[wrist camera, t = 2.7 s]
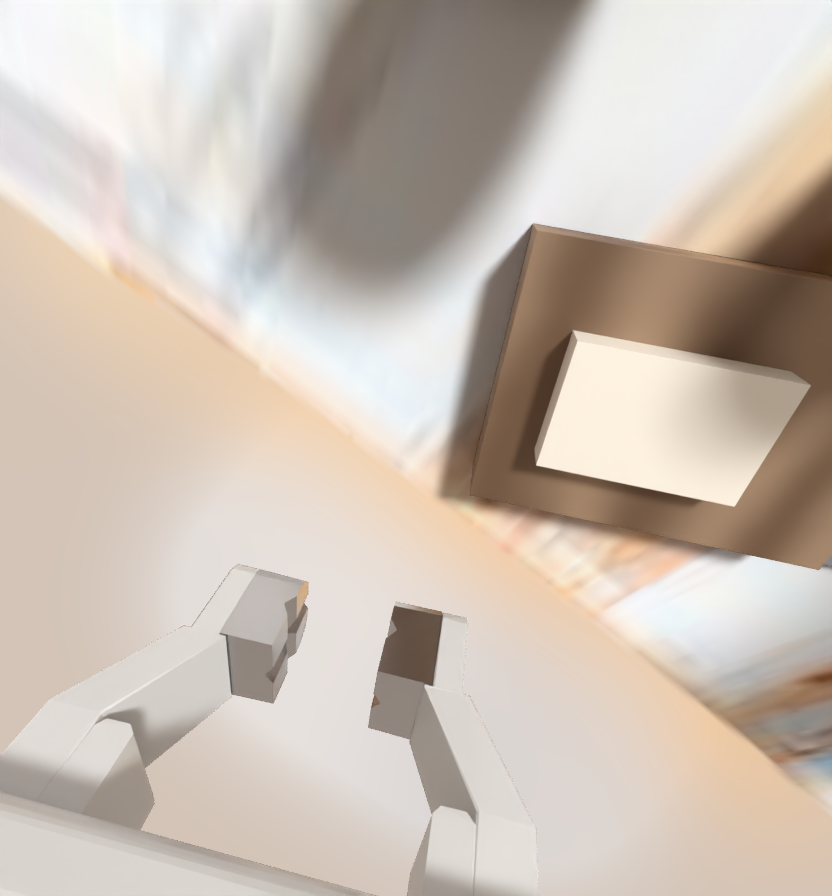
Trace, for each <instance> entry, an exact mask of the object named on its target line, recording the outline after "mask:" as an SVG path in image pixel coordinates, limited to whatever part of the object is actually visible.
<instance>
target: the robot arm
mask: <svg viewBox="0 0 832 896" xmlns="http://www.w3.org/2000/svg"><path fill="white" fill-rule="evenodd" d="M307 595H308V582H306V581H302V580H299V579H295V578H291V577H288V576H284V575H280V574H276V573H272V572H269V571H264V570H260V569H256V568H252V567H248V566H244V565H240V564H238V565H236V566H235V567H234V568H232V569H231V571H230V572H229V573H228V575H227V576H226V578H225V579H224V580H223V582H222V583H221V585H220V586H219V588H218V589H217V591H216V592H215V593H214V595H213V596H212V598H211V599H210V601H209V602H208V603H207V605H206V606H205V608H204V609H203V611H202V612H201V614H200V615H199V617H198V618H197V619H196V621H195V622H194V624H193V625H192V626H191V627H189V626H182V627H180V628H179V629H177V630H175V631H173V632H171V633H170V634H168V635H166V636H164V637H162V638H160V639H158V640H157V641H155V642H153V643H151V644H149V645H148V646H146V647H144V648H142V649H140V650H139V651H137V652H135V653H133V654H131V655H129V656H128V657H126V658H124V659H122V660H120V661H119V662H117V663H115V664H113V665H111V666H110V667H108V668H106V669H104V670H102V671H101V672H99V673H97V674H95V675H93V676H92V677H90V678H88V679H86V680H84V681H82V682H80V683H79V684H77V685H75V686H73V687H71V688H70V689H68V690H66V691H64V692H62V693H61V694H59V695H57V696H55V697H53V698H52V699H50V700H49V701H48V702H47V703H46V704H45V705H44V706H43V707H42V708H41V710H40V711H39V712H38V713H37V714H36V716H34V718H33V719H32V720H31V721H30V722H29V724H27V726H26V727H25V728H24V729H23V730H22V731H21V732H20V734H19V735H18V736H17V737H16V738H15V739H14V741H13V742H12V743H11V744H10V745H9V746H8V747H7V749H6V750H5V751H4V752H3V753H2V754H1V755H0V896H376V895H372V894H369V893H365V892H361V891H358V890H354V889H351V888H347V887H343V886H340V885H336V884H332V883H329V882H325V881H322V880H318V879H314V878H311V877H307V876H303V875H300V874H296V873H293V872H289V871H286V870H282V869H278V868H275V867H271V866H268V865H264V864H260V863H257V862H253V861H249V860H245V859H242V858H239V857H235V856H231V855H228V854H224V853H221V852H217V851H213V850H210V849H206V848H202V847H199V846H195V845H191V844H188V843H184V842H181V841H177V840H174V839H169V838H166V837H162V836H159V835H155V834H152V833H148V832H145V831H141V828H142V826H143V824H144V822H145V820H146V818H147V817H148V815H149V813H150V811H151V809H152V807H153V806H154V804H155V803H154V797H153V793H152V790H151V787H150V784H149V780H148V777H147V774H146V771H145V768H146V767H147V766H148V765H150V763H152V762H153V761H154V760H156V759H157V758H158V757H159V756H160V755H162V754H163V753H164V752H165V751H166V750H168V749H169V748H170V747H171V746H173V745H174V744H175V743H176V742H178V741H179V740H180V739H181V738H182V737H183V736H185V735H186V734H187V733H188V732H189V731H191V730H192V729H193V728H195V727H196V726H197V725H198V724H199V723H201V721H203V720H204V719H206V718H207V717H208V716H209V715H210V714H212V713H213V712H214V711H215V710H217V709H218V708H219V707H220V706H221V705H222V704H224V703H225V702H226V701H227V700H228V699H230V698H231V694H233V695H237V696H242V697H246V698H251V699H255V700H260V701H265V702H269V703H274V701H275V699H276V696H277V694H278V692H279V690H280V688H281V685H282V683H283V681H284V679H285V676H286V674H287V659H288V658H289V657H290V656H292V655H294V654H295V653H296V651H297V649H298V646H299V644H300V642H301V639H302V636H303V632H304V629H305V626H306V620H307V611H308V608H307V606H306V605H305V604H304V601H305V599H306V597H307ZM467 628H468V621H467V618H465V617H460V616H456V615H452V614H448V613H442V612H441V611H436V610H432V609H427V608H422V607H418V606H414V605H409V604H405V603H400V602H396V603H395V606H394V609H393V613H392V617H391V621H390V627H389V632H388V637H387V638H386V640H385V644H384V648H383V652H382V656H381V661H380V664H379V669H378V672H377V678H376V683H375V689H374V698H373V702H372V706H371V712H370V719H369V725H368V728H371V729H375V730H379V731H382V732H386V733H389V734H393V735H396V736H400V737H403V738H407V739H410V745H411V748H412V751H413V755H414V758H415V761H416V765H417V768H418V771H419V775H420V778H421V781H422V784H423V787H424V791H425V794H426V797H427V801H428V804H429V807H430V810H431V813H432V817H431V819H430V822H429V824H428V827H427V830H426V832H425V835H424V838H423V840H422V843H421V846H420V848H419V851H418V854H417V856H416V859H415V862H414V865H413V867H412V870H411V873H410V879H409V886H408V893H407V896H539V882H538V881H539V879H538V858H537V837H536V827H535V825H534V823H533V821H532V819H531V817H530V815H529V813H528V811H527V809H526V807H525V805H524V803H523V801H522V799H521V797H520V795H519V793H518V791H517V789H516V787H515V785H514V783H513V781H512V779H511V777H510V775H509V773H508V771H507V769H506V767H505V765H504V763H503V761H502V759H501V757H500V755H499V753H498V751H497V749H496V747H495V745H494V743H493V741H492V739H491V737H490V735H489V733H488V731H487V729H486V727H485V725H484V723H483V721H482V719H481V717H480V715H479V713H478V711H477V709H476V707H475V705H474V703H473V701H472V699H471V697H470V696H469V695H466V694H462V690H463V677H464V666H465V653H466V642H467Z"/></svg>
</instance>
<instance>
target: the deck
mask: <svg viewBox="0 0 832 896" xmlns="http://www.w3.org/2000/svg"><path fill="white" fill-rule="evenodd" d="M573 330H575V331H580V332H585V333H591V334H596V335H601V336H607V337H612V338H617V339H623V340H628V341H633V342H638V343H644V344H649V345H654V346H660V347H665V348H670V349H675V350H681V351H686V352H691V353H697V354H702V355H707V356H712V357H718V358H723V359H728V360H734V361H739V362H744V363H749V364H755V365H760V366H765V367H771V368H776V369H781V370H786V371H791V372H793V373H794V374H796V375H797V376H798V377H800V378H801V379H803V380H804V381H806V382H807V383H809V384H810V385H811V386H810V388H809V389H808V391H807V393H806V394H805V396H804V397H803V399H802V401H801V402H800V404H799V405H798V407H797V408H796V410H795V412H794V413H793V415H792V416H791V418H790V420H789V421H788V423H787V424H786V426H785V427H784V429H783V431H782V432H781V434H780V435H779V437H778V439H777V440H776V442H775V443H774V445H773V446H772V448H771V450H770V451H769V453H768V454H767V456H766V458H765V459H764V461H763V462H762V464H761V465H760V467H759V469H758V470H757V472H756V473H755V475H754V477H753V478H752V480H751V481H750V483H749V484H748V486H747V488H746V489H745V491H744V492H743V494H742V496H741V497H740V499H739V500H738V502H737V504H736V505H735V507H733V506H728V505H724V504H719V503H714V502H709V501H704V500H700V499H695V498H690V497H685V496H680V495H676V494H671V493H666V492H661V491H656V490H652V489H647V488H642V487H637V486H633V485H628V484H623V483H618V482H613V481H609V480H604V479H599V478H594V477H589V476H585V475H580V474H575V473H570V472H565V471H561V470H556V469H551V468H546V467H541V466H537V465H536V460H535V450H534V449H535V446H536V443H537V440H538V437H539V433H540V430H541V427H542V424H543V421H544V418H545V415H546V412H547V409H548V406H549V403H550V399H551V396H552V393H553V390H554V387H555V384H556V381H557V378H558V375H559V372H560V369H561V365H562V362H563V359H564V356H565V353H566V350H567V347H568V344H569V341H570V338H571V335H572V331H573ZM470 495H472V496H477V497H481V498H486V499H491V500H495V501H500V502H505V503H509V504H514V505H519V506H523V507H528V508H533V509H537V510H542V511H547V512H551V513H556V514H561V515H565V516H570V517H575V518H579V519H584V520H589V521H593V522H598V523H603V524H607V525H612V526H617V527H621V528H626V529H630V530H635V531H640V532H644V533H649V534H654V535H658V536H663V537H668V538H672V539H677V540H682V541H686V542H691V543H696V544H700V545H705V546H710V547H714V548H719V549H724V550H728V551H733V552H738V553H742V554H747V555H752V556H756V557H761V558H766V559H770V560H775V561H780V562H784V563H789V564H794V565H798V566H803V567H808V568H812V569H817V570H819V569H820V568H821V567H822V566H823V564H824V563H825V562H826V561H827V560H828V558H829V557H830V556H831V555H832V276H830V275H824V274H818V273H813V272H807V271H801V270H795V269H790V268H784V267H778V266H773V265H767V264H761V263H756V262H750V261H744V260H738V259H733V258H727V257H721V256H716V255H710V254H704V253H698V252H693V251H687V250H681V249H676V248H670V247H664V246H659V245H653V244H647V243H641V242H636V241H630V240H624V239H619V238H613V237H607V236H602V235H596V234H590V233H584V232H579V231H573V230H567V229H562V228H556V227H550V226H545V225H539V224H533V226H532V230H531V234H530V238H529V242H528V246H527V250H526V254H525V258H524V262H523V266H522V270H521V274H520V278H519V282H518V286H517V291H516V295H515V299H514V303H513V307H512V311H511V315H510V319H509V323H508V327H507V331H506V335H505V339H504V343H503V347H502V351H501V355H500V359H499V363H498V367H497V371H496V375H495V379H494V383H493V387H492V391H491V395H490V399H489V403H488V407H487V411H486V415H485V419H484V423H483V427H482V431H481V435H480V439H479V443H478V447H477V451H476V455H475V459H474V463H473V470H472V479H471V488H470Z"/></svg>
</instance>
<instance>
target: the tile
mask: <svg viewBox="0 0 832 896" xmlns="http://www.w3.org/2000/svg"><path fill="white" fill-rule="evenodd" d="M810 386H811V385H810V384H809V383H807V382H806V381H804V380H803V379H801V378H800V377H798V376H797V375H796V374H794V373H793V372H791V371H786V370H781V369H776V368H771V367H765V366H760V365H755V364H749V363H744V362H739V361H734V360H728V359H723V358H718V357H712V356H707V355H702V354H697V353H691V352H686V351H681V350H675V349H670V348H665V347H660V346H654V345H649V344H644V343H638V342H633V341H628V340H623V339H617V338H612V337H607V336H601V335H596V334H591V333H585V332H580V331H575V330H573V331H572V335H571V338H570V341H569V344H568V347H567V350H566V353H565V356H564V359H563V362H562V365H561V369H560V372H559V375H558V378H557V381H556V384H555V387H554V390H553V393H552V396H551V399H550V403H549V406H548V409H547V412H546V415H545V418H544V421H543V424H542V427H541V430H540V433H539V437H538V440H537V443H536V446H535V449H534V450H535V460H536V465H537V466H541V467H546V468H551V469H556V470H561V471H565V472H570V473H575V474H580V475H585V476H589V477H594V478H599V479H604V480H609V481H613V482H618V483H623V484H628V485H633V486H637V487H642V488H647V489H652V490H656V491H661V492H666V493H671V494H676V495H680V496H685V497H690V498H695V499H700V500H704V501H709V502H714V503H719V504H724V505H728V506H733V507H735V505H736V504H737V502H738V500H739V499H740V497H741V496H742V494H743V492H744V491H745V489H746V488H747V486H748V484H749V483H750V481H751V480H752V478H753V477H754V475H755V473H756V472H757V470H758V469H759V467H760V465H761V464H762V462H763V461H764V459H765V458H766V456H767V454H768V453H769V451H770V450H771V448H772V446H773V445H774V443H775V442H776V440H777V439H778V437H779V435H780V434H781V432H782V431H783V429H784V427H785V426H786V424H787V423H788V421H789V420H790V418H791V416H792V415H793V413H794V412H795V410H796V408H797V407H798V405H799V404H800V402H801V401H802V399H803V397H804V396H805V394H806V393H807V391H808V389H809V388H810Z"/></svg>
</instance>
